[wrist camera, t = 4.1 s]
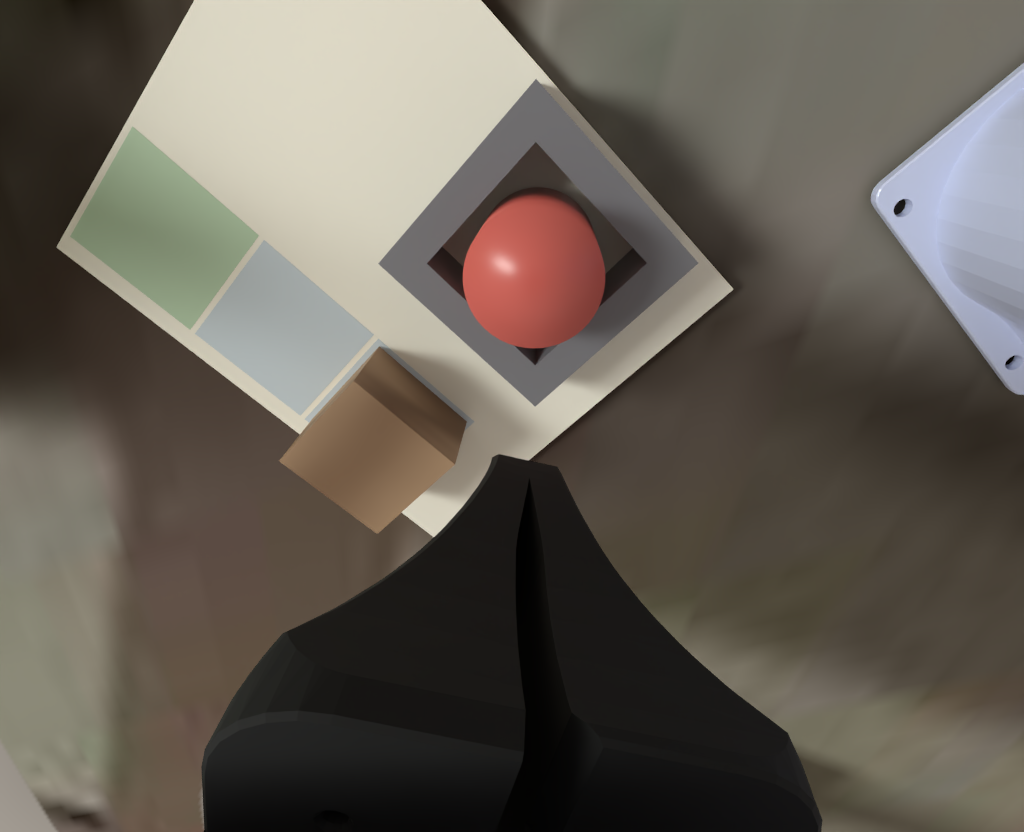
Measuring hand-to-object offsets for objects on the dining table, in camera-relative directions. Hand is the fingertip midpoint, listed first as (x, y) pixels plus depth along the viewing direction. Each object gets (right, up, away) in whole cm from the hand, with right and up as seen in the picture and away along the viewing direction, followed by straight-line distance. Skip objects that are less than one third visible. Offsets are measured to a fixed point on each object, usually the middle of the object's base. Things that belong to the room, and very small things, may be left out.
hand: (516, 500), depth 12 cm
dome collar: (+1, +7, +7) cm, 10 cm away
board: (-4, +7, +8) cm, 11 cm away
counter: (-5, +2, +10) cm, 11 cm away
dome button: (+1, +7, +6) cm, 9 cm away
